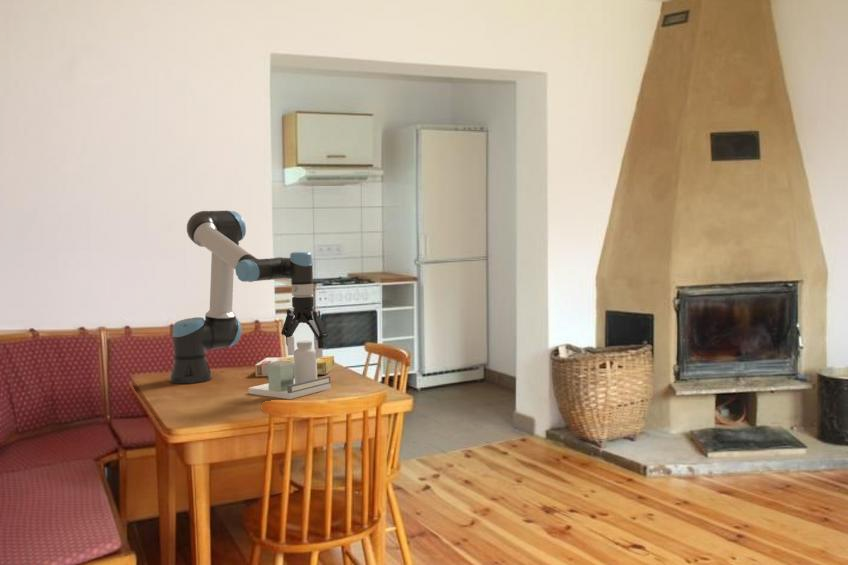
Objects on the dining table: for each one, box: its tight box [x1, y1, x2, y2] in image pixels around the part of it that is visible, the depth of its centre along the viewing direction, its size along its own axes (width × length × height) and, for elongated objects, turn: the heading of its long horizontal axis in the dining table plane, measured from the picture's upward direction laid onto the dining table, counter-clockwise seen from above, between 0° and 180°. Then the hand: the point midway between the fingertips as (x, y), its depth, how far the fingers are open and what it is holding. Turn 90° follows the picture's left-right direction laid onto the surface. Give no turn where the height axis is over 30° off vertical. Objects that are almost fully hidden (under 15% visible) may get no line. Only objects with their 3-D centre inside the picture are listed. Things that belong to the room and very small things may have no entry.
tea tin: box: [267, 360, 295, 391], centre depth 282 cm, size 6×6×9 cm
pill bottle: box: [293, 340, 318, 384], centre depth 290 cm, size 8×8×15 cm
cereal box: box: [254, 355, 335, 378], centre depth 328 cm, size 20×6×28 cm
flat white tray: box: [248, 375, 332, 400], centre depth 288 cm, size 20×20×4 cm
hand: (305, 356), depth 290 cm, fingers open, 13 cm apart
